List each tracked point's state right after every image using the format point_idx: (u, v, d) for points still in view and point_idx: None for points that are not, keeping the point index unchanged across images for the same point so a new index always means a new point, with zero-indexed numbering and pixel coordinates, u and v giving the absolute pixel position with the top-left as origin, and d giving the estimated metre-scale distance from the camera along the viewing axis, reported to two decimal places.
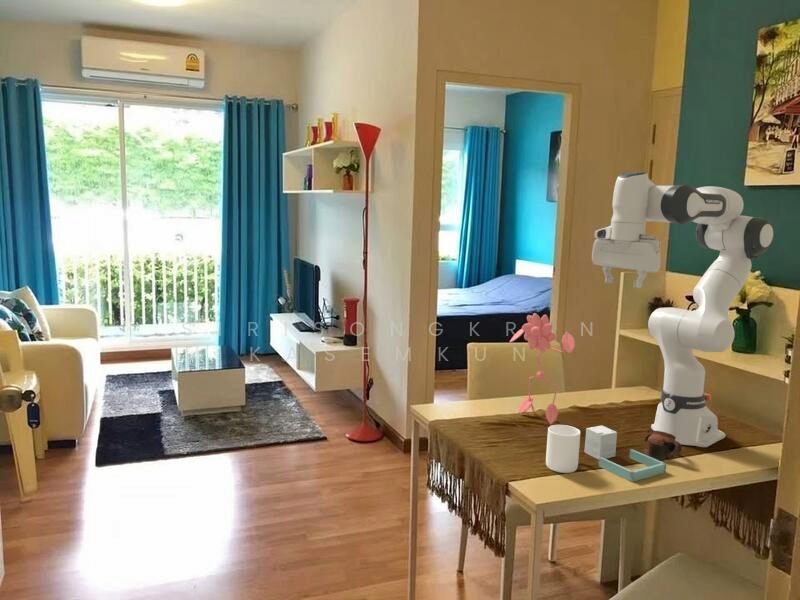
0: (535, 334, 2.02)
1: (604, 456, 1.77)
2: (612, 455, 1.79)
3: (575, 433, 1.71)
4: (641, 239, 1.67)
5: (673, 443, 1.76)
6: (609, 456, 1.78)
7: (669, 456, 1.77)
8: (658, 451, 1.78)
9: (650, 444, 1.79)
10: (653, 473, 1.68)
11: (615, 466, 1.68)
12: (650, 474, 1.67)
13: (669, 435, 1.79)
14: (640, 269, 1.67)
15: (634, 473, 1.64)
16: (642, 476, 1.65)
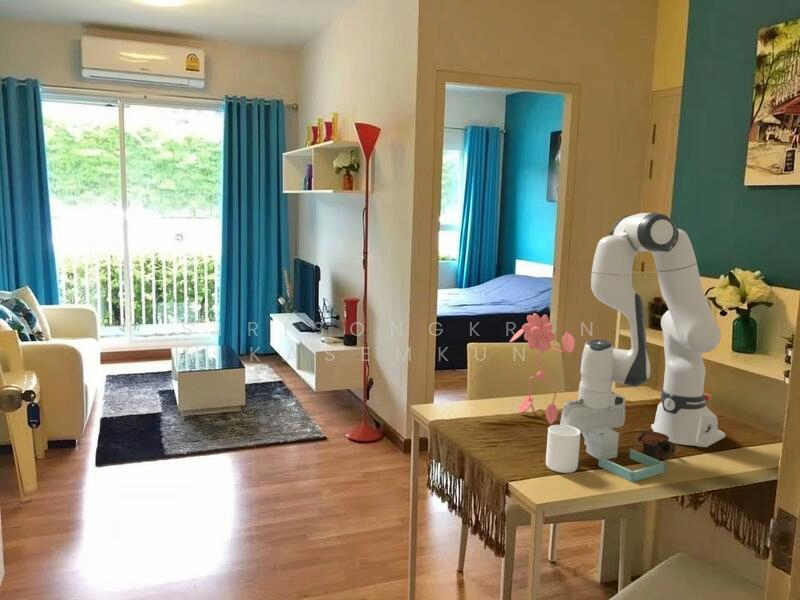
0: (535, 334, 2.02)
1: (605, 456, 1.77)
2: (614, 456, 1.78)
3: (575, 433, 1.71)
4: None
5: (667, 443, 1.76)
6: (610, 457, 1.78)
7: (663, 456, 1.76)
8: (652, 452, 1.77)
9: (644, 444, 1.79)
10: (653, 473, 1.68)
11: (615, 466, 1.68)
12: (650, 474, 1.67)
13: (663, 435, 1.79)
14: None
15: (634, 473, 1.64)
16: (642, 476, 1.65)
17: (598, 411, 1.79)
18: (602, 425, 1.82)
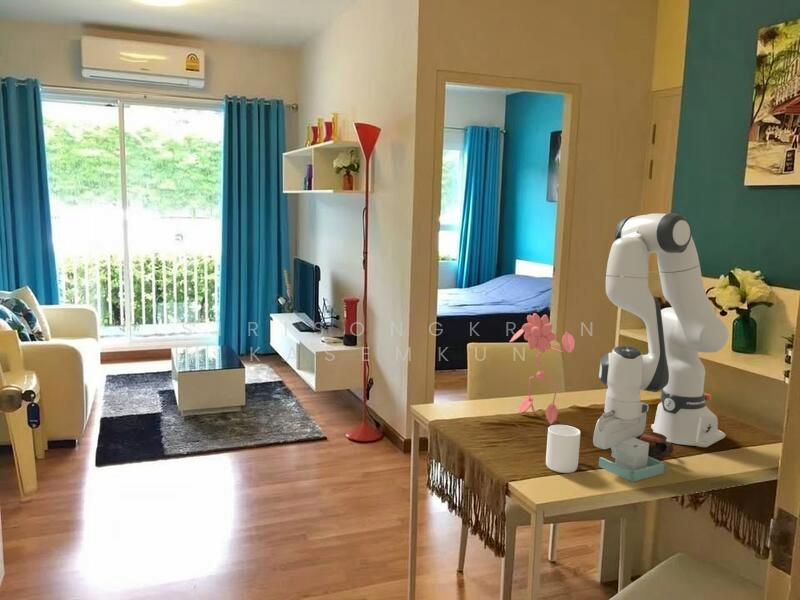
0: (535, 334, 2.02)
1: (638, 469, 1.69)
2: (644, 467, 1.71)
3: (575, 433, 1.71)
4: None
5: (664, 443, 1.76)
6: None
7: (661, 456, 1.76)
8: (649, 452, 1.77)
9: None
10: (653, 473, 1.68)
11: (615, 466, 1.68)
12: (650, 474, 1.67)
13: (660, 435, 1.79)
14: None
15: (634, 473, 1.64)
16: (642, 476, 1.65)
17: (629, 421, 1.71)
18: (629, 435, 1.74)
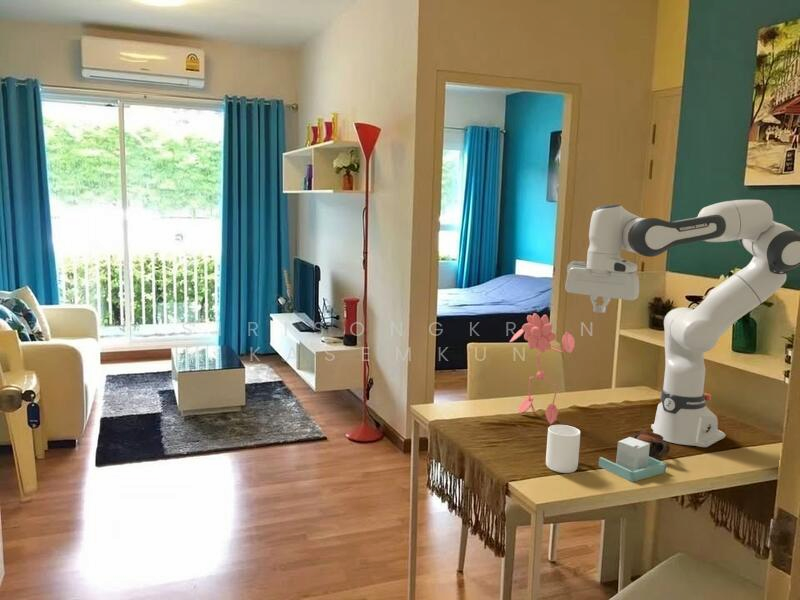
0: (535, 334, 2.02)
1: None
2: None
3: (575, 433, 1.71)
4: None
5: (661, 443, 1.76)
6: None
7: (657, 456, 1.76)
8: None
9: None
10: (653, 473, 1.68)
11: (615, 466, 1.68)
12: (650, 474, 1.67)
13: (657, 435, 1.79)
14: None
15: (634, 473, 1.64)
16: (642, 476, 1.65)
17: (595, 274, 1.79)
18: (605, 292, 1.79)
